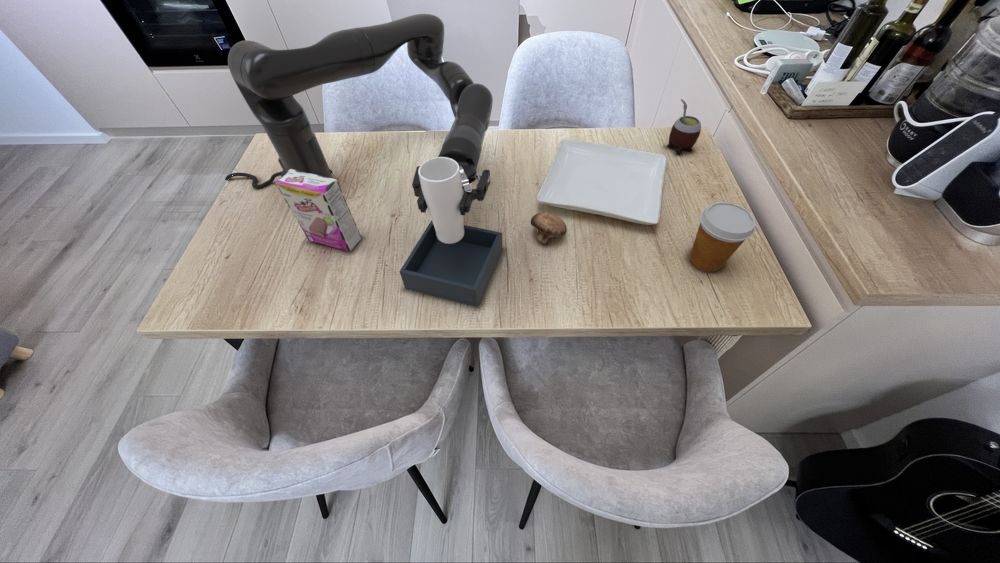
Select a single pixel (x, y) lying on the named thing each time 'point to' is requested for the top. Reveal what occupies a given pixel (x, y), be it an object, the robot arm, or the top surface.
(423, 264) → the tub
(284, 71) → the robot arm
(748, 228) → the disposable coffee cup
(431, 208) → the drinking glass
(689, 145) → the mate gourd
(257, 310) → the top surface
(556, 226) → the mushroom
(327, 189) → the candy bar box
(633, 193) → the square plate
